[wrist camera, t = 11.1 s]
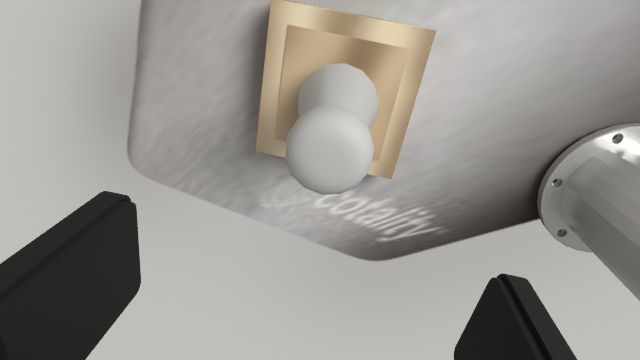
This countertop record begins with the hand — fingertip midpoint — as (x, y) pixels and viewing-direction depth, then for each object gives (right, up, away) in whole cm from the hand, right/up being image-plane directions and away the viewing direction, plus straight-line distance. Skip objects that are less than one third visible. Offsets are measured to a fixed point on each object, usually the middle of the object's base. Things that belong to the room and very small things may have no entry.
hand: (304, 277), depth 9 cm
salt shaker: (+2, +9, +19) cm, 21 cm away
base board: (+2, +10, +21) cm, 24 cm away
